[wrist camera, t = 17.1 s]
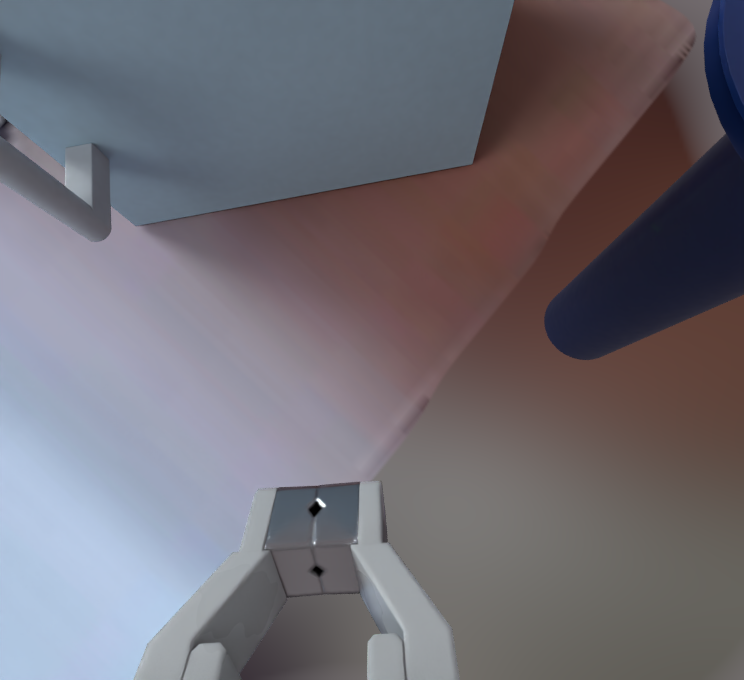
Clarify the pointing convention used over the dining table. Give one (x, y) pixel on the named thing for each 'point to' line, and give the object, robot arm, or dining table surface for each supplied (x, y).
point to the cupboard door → (237, 99)
